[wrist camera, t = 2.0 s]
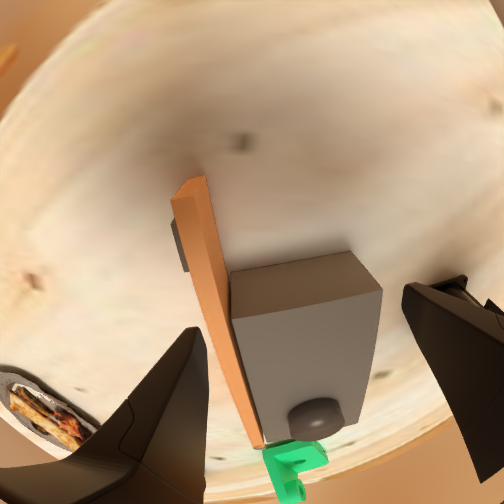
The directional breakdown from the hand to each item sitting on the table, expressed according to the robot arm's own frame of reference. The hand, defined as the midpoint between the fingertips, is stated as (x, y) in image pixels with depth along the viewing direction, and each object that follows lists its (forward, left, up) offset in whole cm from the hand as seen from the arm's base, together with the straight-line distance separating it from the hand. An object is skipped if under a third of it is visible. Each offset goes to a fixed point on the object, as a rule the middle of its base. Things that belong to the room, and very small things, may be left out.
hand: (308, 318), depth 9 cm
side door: (+5, +10, -13) cm, 17 cm away
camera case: (-2, +14, -13) cm, 19 cm away
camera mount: (0, +41, -13) cm, 43 cm away
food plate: (+41, +28, -14) cm, 52 cm away
